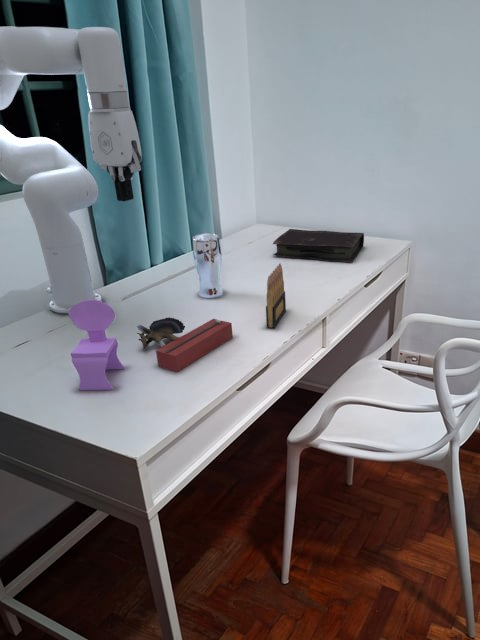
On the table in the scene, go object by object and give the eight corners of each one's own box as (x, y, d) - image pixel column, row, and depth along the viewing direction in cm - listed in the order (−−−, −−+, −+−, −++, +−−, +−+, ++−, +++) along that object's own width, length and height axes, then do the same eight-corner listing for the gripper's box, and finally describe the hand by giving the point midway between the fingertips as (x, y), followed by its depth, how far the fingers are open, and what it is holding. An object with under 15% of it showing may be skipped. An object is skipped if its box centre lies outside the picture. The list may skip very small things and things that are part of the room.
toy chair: (72, 391, 99) (53, 315, 91) (88, 368, 106) (71, 296, 99) (118, 390, 99) (102, 314, 91) (130, 368, 106) (116, 295, 99)
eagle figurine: (152, 355, 108) (191, 336, 112) (134, 323, 108) (174, 305, 111) (146, 360, 115) (183, 342, 119) (130, 330, 115) (168, 313, 118)
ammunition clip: (274, 328, 121) (272, 277, 115) (266, 328, 121) (264, 276, 115) (286, 311, 130) (284, 262, 124) (278, 310, 130) (276, 261, 124)
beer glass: (220, 299, 138) (214, 240, 130) (194, 298, 139) (187, 240, 131) (228, 290, 143) (223, 233, 136) (203, 289, 145) (197, 232, 137)
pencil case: (158, 366, 107) (155, 348, 105) (214, 333, 120) (213, 316, 118) (177, 372, 104) (174, 353, 102) (232, 337, 118) (231, 320, 116)
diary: (290, 242, 183) (290, 227, 180) (363, 246, 176) (364, 231, 173) (272, 258, 168) (271, 242, 165) (351, 263, 161) (352, 247, 158)
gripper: (68, 103, 106) (87, 200, 116) (122, 103, 100) (138, 206, 109) (98, 101, 112) (114, 194, 121) (151, 101, 105) (164, 199, 114)
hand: (125, 199), depth 115 cm, fingers closed
